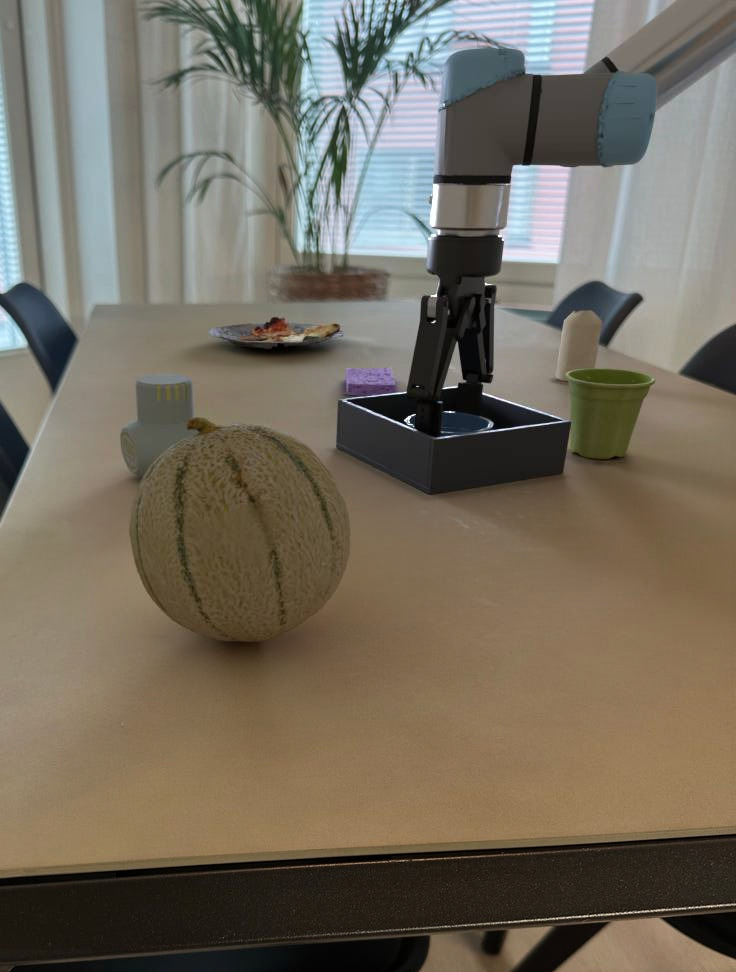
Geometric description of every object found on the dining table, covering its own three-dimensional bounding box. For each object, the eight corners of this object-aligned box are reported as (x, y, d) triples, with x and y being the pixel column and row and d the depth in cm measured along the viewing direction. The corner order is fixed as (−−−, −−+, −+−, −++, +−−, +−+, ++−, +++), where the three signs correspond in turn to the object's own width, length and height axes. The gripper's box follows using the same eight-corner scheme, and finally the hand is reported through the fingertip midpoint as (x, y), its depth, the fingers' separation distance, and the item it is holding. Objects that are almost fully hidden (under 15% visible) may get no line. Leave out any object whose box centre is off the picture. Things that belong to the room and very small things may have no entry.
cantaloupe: (361, 677, 59) (375, 448, 52) (132, 686, 58) (115, 453, 51) (327, 584, 72) (335, 391, 65) (140, 590, 71) (127, 395, 64)
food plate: (281, 329, 184) (281, 311, 183) (368, 343, 169) (369, 324, 168) (184, 343, 169) (184, 323, 168) (270, 361, 154) (270, 339, 153)
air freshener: (118, 464, 100) (111, 372, 96) (189, 456, 103) (186, 366, 99) (144, 493, 92) (138, 393, 87) (222, 484, 94) (220, 386, 90)
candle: (587, 384, 138) (598, 314, 133) (550, 379, 140) (560, 311, 136) (596, 377, 142) (608, 310, 137) (561, 373, 144) (571, 307, 140)
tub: (563, 473, 98) (571, 421, 95) (429, 494, 91) (434, 439, 89) (456, 431, 113) (461, 385, 110) (335, 447, 107) (337, 399, 104)
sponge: (346, 396, 130) (347, 383, 129) (345, 378, 141) (346, 366, 140) (395, 397, 130) (396, 384, 129) (390, 379, 141) (391, 366, 140)
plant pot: (550, 459, 102) (562, 380, 98) (558, 438, 110) (569, 365, 106) (639, 468, 99) (655, 387, 95) (640, 446, 107) (655, 371, 103)
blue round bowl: (507, 458, 100) (511, 426, 98) (434, 469, 96) (437, 437, 94) (455, 437, 107) (458, 408, 106) (386, 447, 104) (388, 416, 102)
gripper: (476, 226, 101) (455, 425, 112) (380, 237, 85) (367, 469, 95) (541, 228, 98) (514, 434, 108) (454, 240, 81) (432, 481, 92)
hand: (445, 450), depth 102 cm, fingers closed on blue round bowl, 10 cm apart
